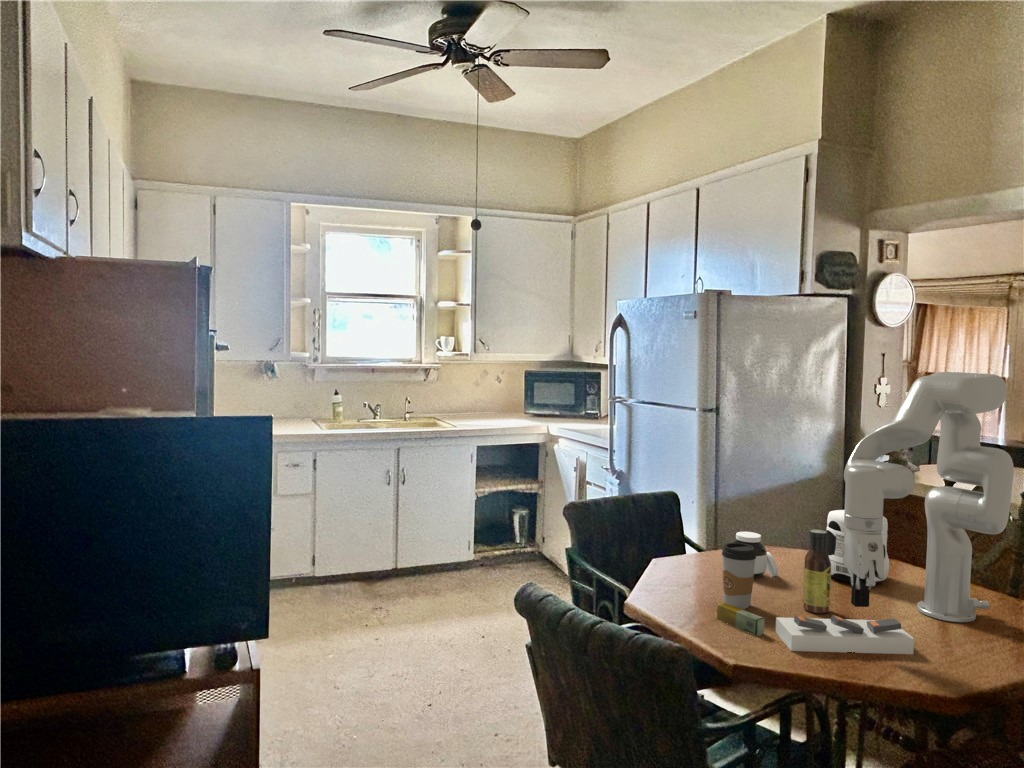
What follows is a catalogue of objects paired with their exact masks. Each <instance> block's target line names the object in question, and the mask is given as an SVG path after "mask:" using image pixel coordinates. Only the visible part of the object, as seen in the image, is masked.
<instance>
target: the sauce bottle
mask: <svg viewBox="0 0 1024 768" xmlns="http://www.w3.org/2000/svg"><path fill="white" fill-rule="evenodd" d="M826 539H827V530H823V529H822V530H821V529H811V530H809V550H808V551H807V552H806V554H805V556H804V567H803V583H802V585H803V588H802V589H803V590H802V593H803V594H802V602H803V609H804V610H806V611H807V612H810V613H813V614H826V613H828V612H829V611H830V606H831V581H832V576H831V562H830V559H829V556H828V553H827V549H826Z"/></svg>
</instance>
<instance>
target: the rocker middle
mask: <svg viewBox="0 0 1024 768" xmlns="http://www.w3.org/2000/svg"><path fill="white" fill-rule="evenodd" d="M829 619H830V620H831V621H832V622H833V623H834V624H835V625H837V626H840V627H843V628H846V629H848V630H851V631H854V632H857V633H860V634H862V633H863V631H864V629H863V628H862V627H861V626H860V625H859V624H857V623H854V622H851V621H848V620H846V619H847V618H842V617H840V616H837V615H834V614H831V617H830V618H829Z"/></svg>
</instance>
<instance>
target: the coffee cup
mask: <svg viewBox="0 0 1024 768" xmlns="http://www.w3.org/2000/svg"><path fill="white" fill-rule="evenodd" d="M721 556H722V588H723V589H722V590H723V603H727V604H729V605H732V606H734V607H737V608H740V609H742V610H746V608H747V609H748V607H750V606H751V601H752V593H753V587H754V579H755V578H754V566H755V559H756V552H755V551H754V547H753V546H751V545H748V544H743V543H733V542H727V543H724V545H723V548H722V549H721Z"/></svg>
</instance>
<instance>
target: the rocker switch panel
mask: <svg viewBox="0 0 1024 768" xmlns="http://www.w3.org/2000/svg"><path fill="white" fill-rule="evenodd" d="M808 618H809V617H808ZM809 619H814V620H819V621H822V622H823V623H824V624H825V625H826V626H827V629H826V631H821V630H816V629H811V628H806V627H801V626H798V625H797V624H796V623H795V622H794V617H775V634H776V635H777V636H778V637H779V638H780V640H781V641H782V642H783V643H784V644H785V646H786V647H787V648H788V649H789V650H790V651H791V652H817V653H820V652H821V653H847V652H852V654H853V652H855V653H854V654H884V655H885V654H888V655H889V654H890V655H892V654H893V655H914V648H915V647H914V646H915V638H914V637H913V636H912V635H910V634H909V633H908V632H906V631H905V630H904V629H903V628H902V629H898V630H891V631H884V632H876V633H873V632H872V631H871V630H870V629H869V628H868V627H867V622H871V621H878V620H879V619H851V618H850V619H849V618H845V619H846V620H848V621H851V622H854V623H857V624H859V625H860V626H861V627H862V628H863V629H864V631H863V633H862V634H860V633H857V632H854V631H851V630H848V629H846V628H843V627H840V626H837V625H835V624H834V623H833V622H832V621H831V620H830V619H831V618H816V617H814V618H809Z"/></svg>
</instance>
